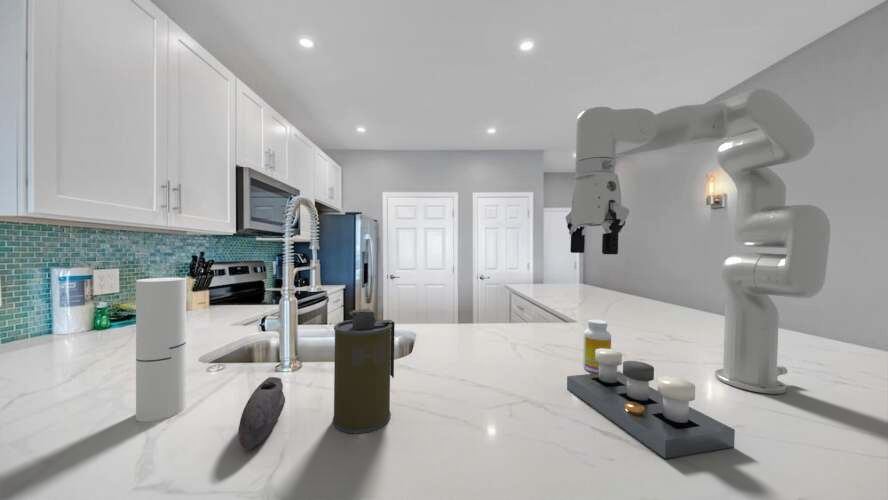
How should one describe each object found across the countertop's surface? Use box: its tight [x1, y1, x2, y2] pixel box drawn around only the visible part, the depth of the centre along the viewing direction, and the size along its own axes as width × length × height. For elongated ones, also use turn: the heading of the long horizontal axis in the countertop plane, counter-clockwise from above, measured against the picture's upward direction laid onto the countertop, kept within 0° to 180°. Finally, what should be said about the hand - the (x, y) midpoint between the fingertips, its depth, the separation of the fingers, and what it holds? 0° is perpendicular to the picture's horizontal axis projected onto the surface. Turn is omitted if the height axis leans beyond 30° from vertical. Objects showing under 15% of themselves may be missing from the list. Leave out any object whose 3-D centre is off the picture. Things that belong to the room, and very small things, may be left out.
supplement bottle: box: [582, 318, 612, 374], centre depth 87 cm, size 7×7×13 cm
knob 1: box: [595, 348, 623, 383], centre depth 72 cm, size 5×5×6 cm
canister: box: [332, 308, 396, 434], centre depth 61 cm, size 11×10×20 cm
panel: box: [566, 371, 736, 461], centre depth 64 cm, size 25×14×4 cm, turn 14°
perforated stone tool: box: [238, 376, 286, 450], centre depth 56 cm, size 15×5×7 cm, turn 10°
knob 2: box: [657, 375, 696, 423], centre depth 56 cm, size 5×5×6 cm
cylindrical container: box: [135, 277, 187, 423], centre depth 62 cm, size 7×7×25 cm
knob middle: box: [622, 360, 655, 400], centre depth 64 cm, size 5×5×6 cm
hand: (592, 253), depth 68 cm, fingers open, 9 cm apart
